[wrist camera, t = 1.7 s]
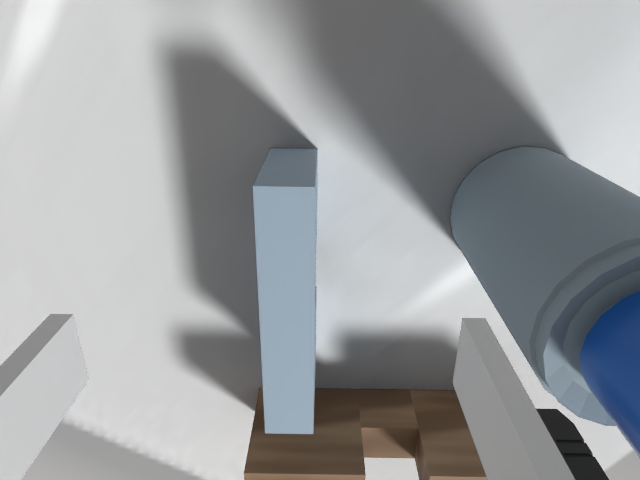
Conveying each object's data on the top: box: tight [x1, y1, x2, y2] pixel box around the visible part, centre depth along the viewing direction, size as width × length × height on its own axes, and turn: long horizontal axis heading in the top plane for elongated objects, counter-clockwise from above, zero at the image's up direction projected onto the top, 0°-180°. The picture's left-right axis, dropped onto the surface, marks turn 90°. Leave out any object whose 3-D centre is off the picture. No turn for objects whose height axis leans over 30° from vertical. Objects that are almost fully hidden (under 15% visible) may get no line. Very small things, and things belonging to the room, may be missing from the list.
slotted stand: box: [244, 388, 488, 480], centre depth 35 cm, size 3×20×8 cm, turn 89°
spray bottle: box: [450, 146, 640, 458], centre depth 20 cm, size 9×9×25 cm
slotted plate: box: [253, 148, 317, 434], centre depth 29 cm, size 16×3×8 cm, turn 179°
